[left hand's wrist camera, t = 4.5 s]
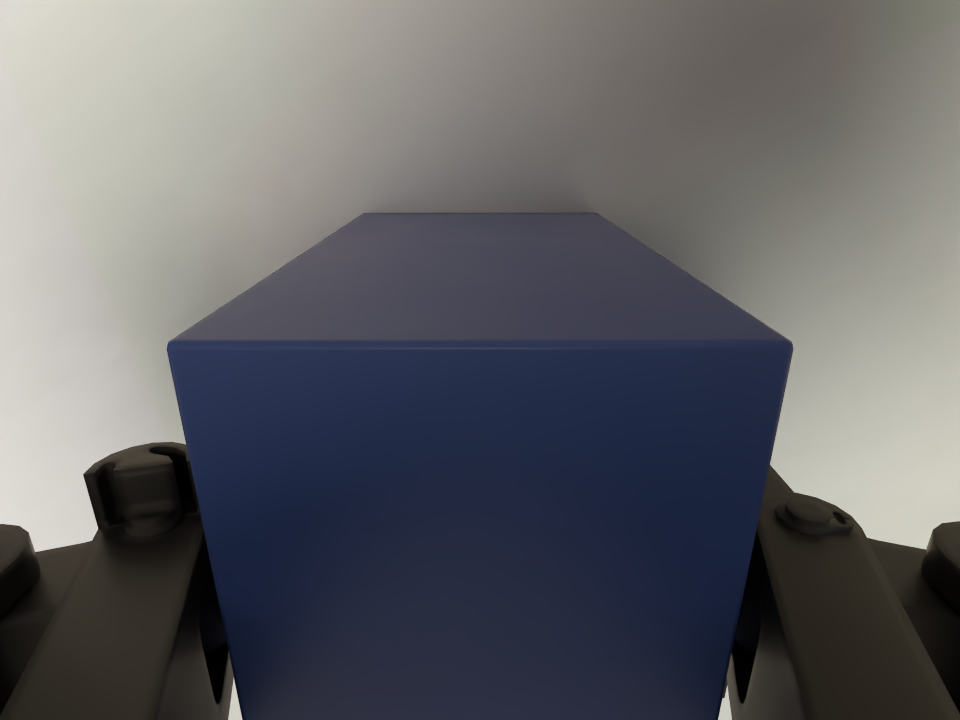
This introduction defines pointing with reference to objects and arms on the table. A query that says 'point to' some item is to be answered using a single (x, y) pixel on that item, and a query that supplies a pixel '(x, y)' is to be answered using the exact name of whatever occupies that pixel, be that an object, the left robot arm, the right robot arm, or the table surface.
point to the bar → (480, 473)
